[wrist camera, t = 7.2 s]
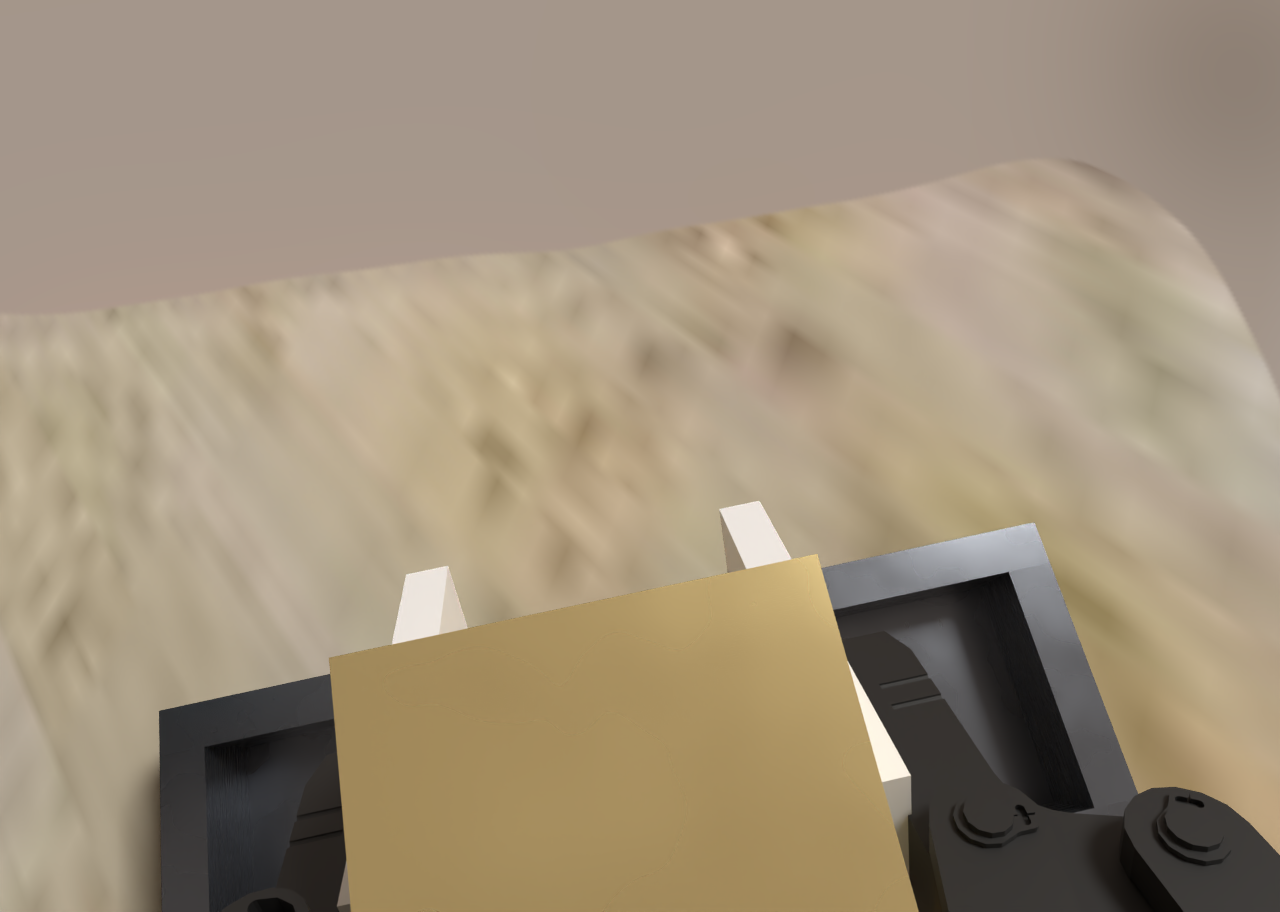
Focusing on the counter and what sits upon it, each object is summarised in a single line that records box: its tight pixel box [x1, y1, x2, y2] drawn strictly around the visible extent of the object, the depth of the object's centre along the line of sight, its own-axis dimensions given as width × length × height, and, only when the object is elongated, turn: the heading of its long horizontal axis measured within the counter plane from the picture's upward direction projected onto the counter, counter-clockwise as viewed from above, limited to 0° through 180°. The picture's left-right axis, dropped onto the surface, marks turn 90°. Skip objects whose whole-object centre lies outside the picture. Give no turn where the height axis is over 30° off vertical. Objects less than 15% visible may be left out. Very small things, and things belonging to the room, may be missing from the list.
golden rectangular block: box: [329, 554, 919, 912], centre depth 13 cm, size 5×5×11 cm
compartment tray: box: [159, 523, 1138, 912], centre depth 24 cm, size 26×9×3 cm, turn 102°
